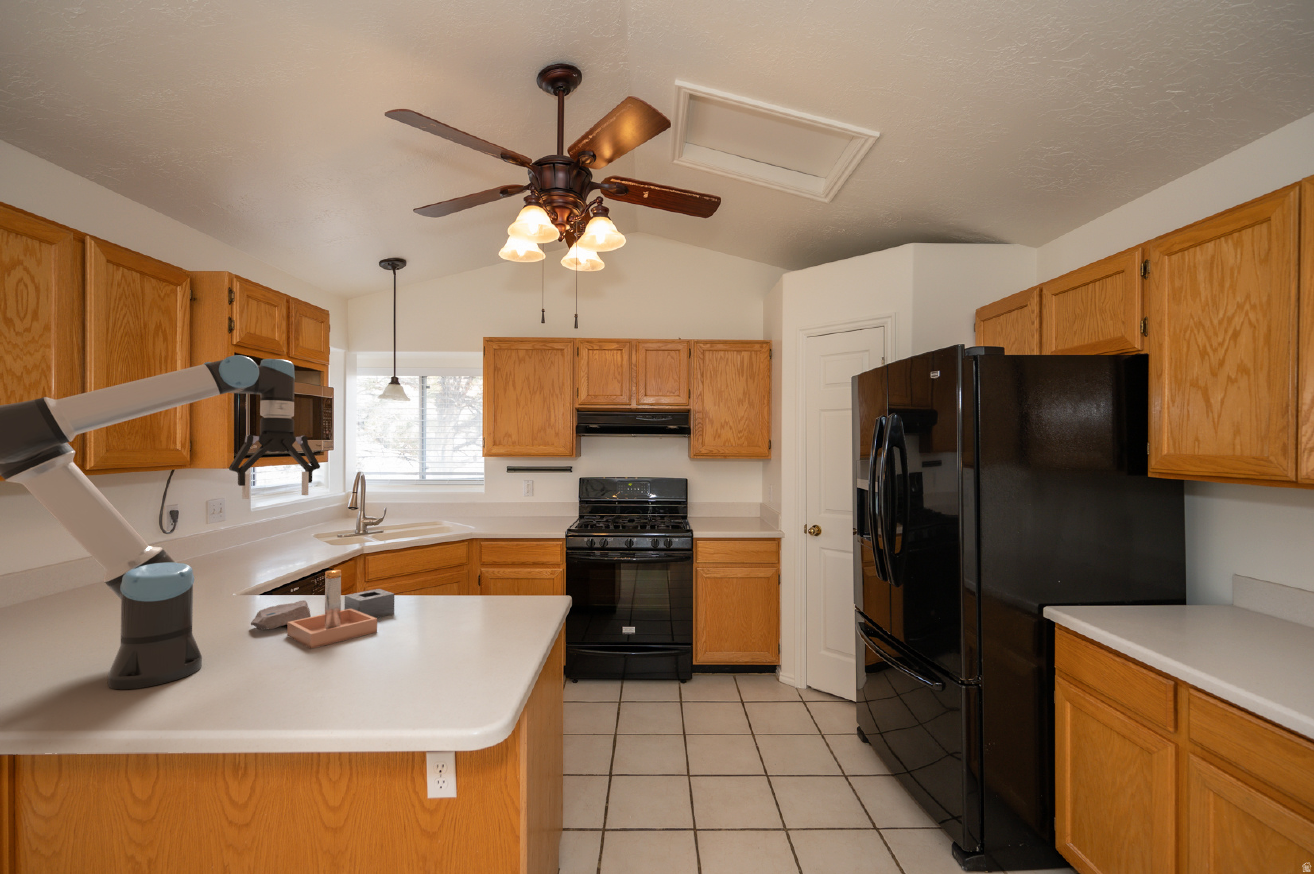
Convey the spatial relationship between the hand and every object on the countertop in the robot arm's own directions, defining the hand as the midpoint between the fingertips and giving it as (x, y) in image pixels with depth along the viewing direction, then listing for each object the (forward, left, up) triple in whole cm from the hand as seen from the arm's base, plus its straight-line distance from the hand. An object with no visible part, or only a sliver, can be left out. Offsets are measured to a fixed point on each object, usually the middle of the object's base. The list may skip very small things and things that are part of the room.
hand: (276, 496), depth 146 cm
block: (+24, -1, -37) cm, 44 cm away
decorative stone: (+4, +7, -37) cm, 38 cm away
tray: (+10, -11, -37) cm, 40 cm away
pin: (+10, -11, -36) cm, 39 cm away
